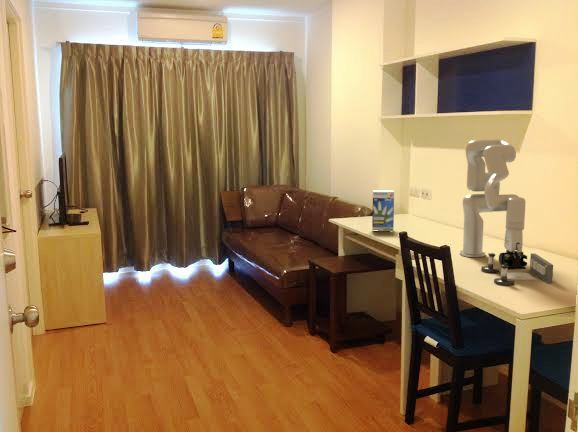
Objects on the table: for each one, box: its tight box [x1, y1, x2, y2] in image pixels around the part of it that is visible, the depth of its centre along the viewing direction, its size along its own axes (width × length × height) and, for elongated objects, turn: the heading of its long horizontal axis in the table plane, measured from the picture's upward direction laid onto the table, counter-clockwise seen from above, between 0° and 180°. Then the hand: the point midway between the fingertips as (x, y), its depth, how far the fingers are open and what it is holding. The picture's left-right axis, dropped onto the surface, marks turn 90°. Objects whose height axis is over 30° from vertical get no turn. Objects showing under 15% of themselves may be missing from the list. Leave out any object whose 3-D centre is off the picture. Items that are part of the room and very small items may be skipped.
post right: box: [493, 264, 515, 287], centre depth 235 cm, size 8×8×8 cm
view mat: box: [499, 272, 537, 281], centre depth 244 cm, size 10×12×1 cm
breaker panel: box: [529, 253, 554, 284], centre depth 243 cm, size 20×3×8 cm, turn 177°
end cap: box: [498, 251, 528, 271], centre depth 243 cm, size 10×7×7 cm
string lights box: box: [371, 189, 395, 232], centre depth 346 cm, size 13×8×26 cm, turn 76°
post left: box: [480, 252, 501, 274], centre depth 253 cm, size 8×8×8 cm
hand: (512, 263), depth 243 cm, fingers closed on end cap, 7 cm apart
